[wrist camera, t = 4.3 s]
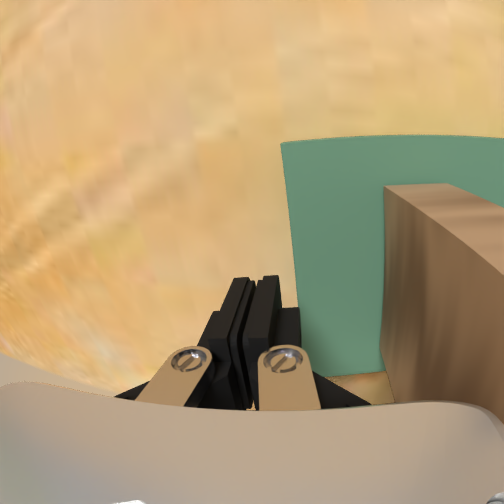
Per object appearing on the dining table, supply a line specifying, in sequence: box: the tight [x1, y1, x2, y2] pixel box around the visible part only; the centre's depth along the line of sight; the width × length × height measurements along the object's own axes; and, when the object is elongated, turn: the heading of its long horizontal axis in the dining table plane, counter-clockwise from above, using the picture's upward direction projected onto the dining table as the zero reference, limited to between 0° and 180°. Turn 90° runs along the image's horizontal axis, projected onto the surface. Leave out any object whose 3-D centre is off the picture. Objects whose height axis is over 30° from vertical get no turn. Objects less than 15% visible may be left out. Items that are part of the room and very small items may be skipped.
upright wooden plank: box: [380, 183, 504, 425], centre depth 8 cm, size 8×4×10 cm, turn 8°
